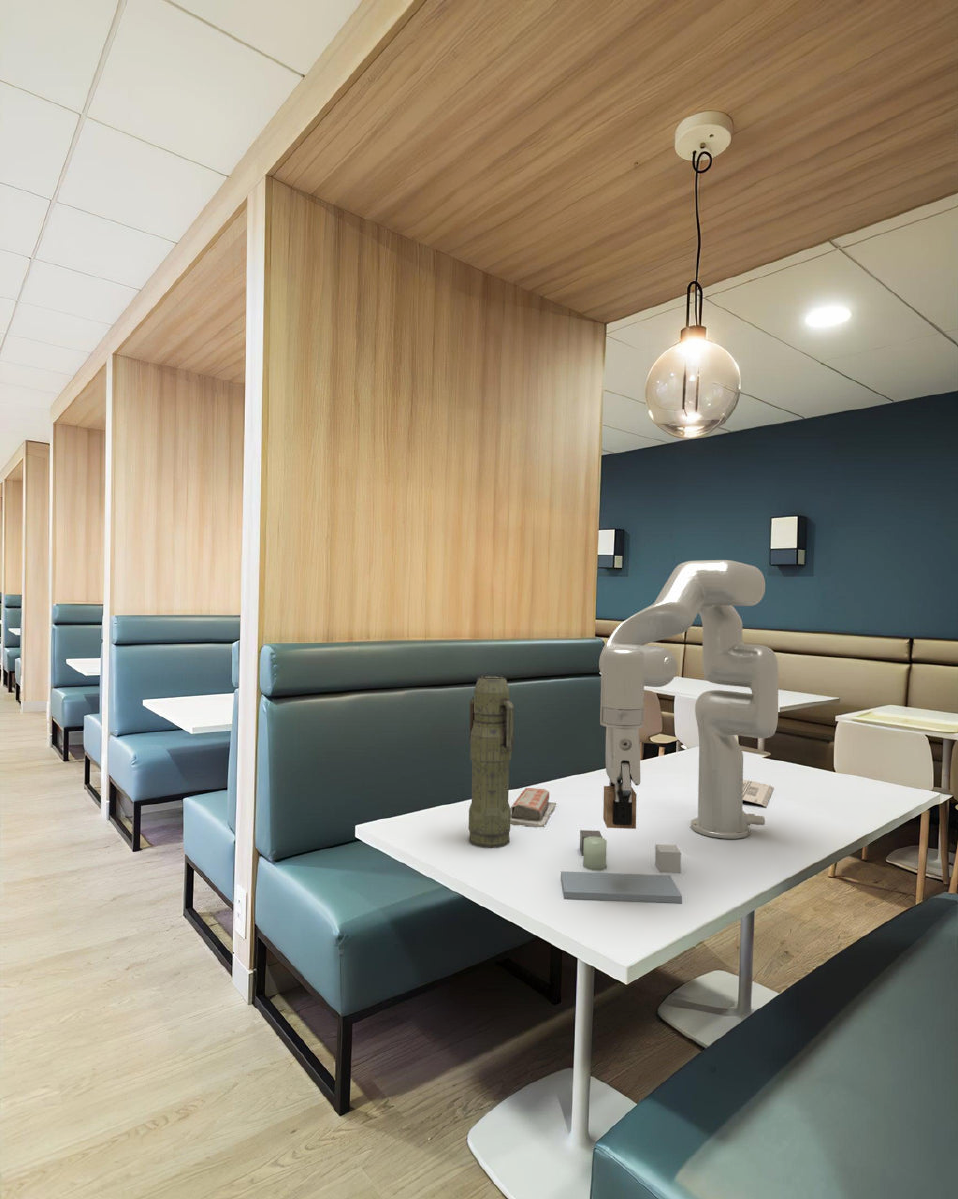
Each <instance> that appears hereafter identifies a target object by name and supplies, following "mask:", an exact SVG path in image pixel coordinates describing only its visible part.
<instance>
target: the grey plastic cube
mask: <svg viewBox="0 0 958 1199" xmlns="http://www.w3.org/2000/svg"><path fill="white" fill-rule="evenodd" d="M654 846H655V848H654V850H655V851H654V866H655V867H656V869H657V871H658V873H664V874H665V873H668V874H681V868H682V866H681V865H682V864H681V863H682V861H681V860H682V857H681V856H682V852H681V851H680V849H679V847H678V846H677V844H675V845H674V844H655V845H654Z"/></svg>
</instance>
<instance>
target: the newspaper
mask: <svg viewBox="0 0 958 1199" xmlns="http://www.w3.org/2000/svg"><path fill="white" fill-rule="evenodd" d="M773 792H774V786H772V785H771V784H770V785H769V784H765V783H760V782H757V781H752V780H746V779H743V801H745V802H749V803H754V804H756V805H760V806H762V807H763V808H764V809H766V808H767V807H768V804H769V802H770V799H771V796H772V793H773Z"/></svg>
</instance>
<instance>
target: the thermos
mask: <svg viewBox="0 0 958 1199" xmlns="http://www.w3.org/2000/svg"><path fill="white" fill-rule="evenodd" d="M514 738H515V706H514V704H513V702H512V700H510V688H509V684H508V681H507V678H505V677H503V676H501V675H482V676H480V677H479V678H477V681H476V684H475V687H474V691H473V696H472V698H471V699H470V702H469V740H470V741H469V742H470V744H469V745H470V747H469V748H470V750H469V758H470V761H471V763H472V764H471V768H472V770H471V773H472V774H471V802H470V806H469V808H468V830H469V838H468V840H469V843H470V844H471V845H472V846H476V847H478V848H486V849H497V848H498V849H499V848H502V847H505V846H507V845H508V844H509V843H510V831H511V825H510V818H511V809H510V808H511V806H510V803H509V784H510V783H509V781H510V779H509V778H510V774H509V773H510V763H511V760H512V751H513V749H514Z"/></svg>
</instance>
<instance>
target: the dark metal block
mask: <svg viewBox="0 0 958 1199" xmlns="http://www.w3.org/2000/svg"><path fill="white" fill-rule="evenodd" d="M592 836H594V837H601V838H603V836H602V833H601V830H587V829H586V830H585V829H583V830H582V829H580V831H579V851H580V854H581V857H583V851H584V838H586V837H592Z"/></svg>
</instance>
